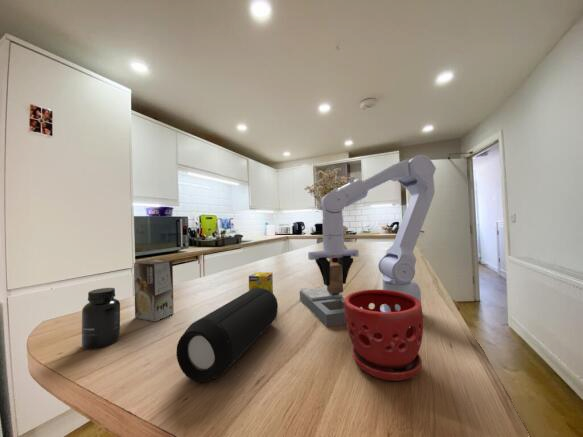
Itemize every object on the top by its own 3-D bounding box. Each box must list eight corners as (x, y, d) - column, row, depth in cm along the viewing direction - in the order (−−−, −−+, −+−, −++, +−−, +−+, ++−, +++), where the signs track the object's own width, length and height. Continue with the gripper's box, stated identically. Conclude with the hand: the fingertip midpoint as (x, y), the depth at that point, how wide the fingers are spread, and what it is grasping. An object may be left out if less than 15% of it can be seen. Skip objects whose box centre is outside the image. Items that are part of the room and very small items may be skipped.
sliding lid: (327, 288, 82) (327, 277, 82) (342, 296, 71) (341, 284, 71) (300, 291, 79) (300, 279, 79) (311, 300, 69) (311, 287, 69)
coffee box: (175, 313, 70) (174, 260, 70) (155, 322, 64) (154, 263, 64) (153, 310, 73) (152, 259, 74) (133, 318, 67) (132, 262, 68)
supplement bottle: (76, 354, 49) (76, 296, 49) (87, 340, 55) (86, 289, 55) (117, 345, 52) (116, 291, 52) (122, 333, 58) (122, 284, 58)
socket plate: (327, 296, 82) (327, 287, 82) (363, 321, 61) (363, 309, 61) (299, 299, 80) (299, 290, 80) (326, 326, 58) (326, 314, 58)
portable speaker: (247, 321, 63) (246, 284, 64) (281, 325, 60) (280, 286, 60) (172, 382, 39) (171, 322, 39) (222, 394, 36) (221, 329, 36)
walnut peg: (336, 287, 68) (336, 263, 68) (346, 291, 64) (345, 266, 64) (324, 289, 66) (323, 265, 66) (333, 294, 62) (332, 267, 62)
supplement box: (268, 313, 68) (267, 276, 68) (248, 312, 69) (248, 275, 69) (273, 306, 73) (272, 272, 74) (255, 305, 75) (255, 271, 75)
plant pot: (368, 339, 51) (366, 284, 52) (435, 364, 42) (432, 297, 42) (332, 364, 42) (329, 298, 43) (406, 404, 33) (403, 318, 33)
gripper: (349, 233, 71) (350, 278, 71) (304, 235, 67) (305, 282, 67) (362, 234, 64) (363, 283, 64) (312, 236, 60) (314, 289, 60)
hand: (334, 283), depth 65 cm, fingers closed on walnut peg, 4 cm apart
